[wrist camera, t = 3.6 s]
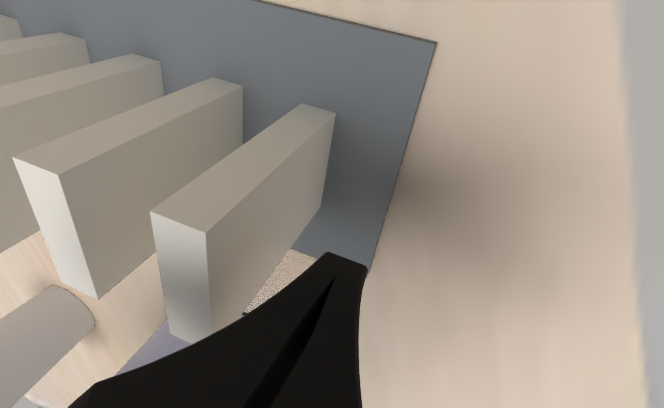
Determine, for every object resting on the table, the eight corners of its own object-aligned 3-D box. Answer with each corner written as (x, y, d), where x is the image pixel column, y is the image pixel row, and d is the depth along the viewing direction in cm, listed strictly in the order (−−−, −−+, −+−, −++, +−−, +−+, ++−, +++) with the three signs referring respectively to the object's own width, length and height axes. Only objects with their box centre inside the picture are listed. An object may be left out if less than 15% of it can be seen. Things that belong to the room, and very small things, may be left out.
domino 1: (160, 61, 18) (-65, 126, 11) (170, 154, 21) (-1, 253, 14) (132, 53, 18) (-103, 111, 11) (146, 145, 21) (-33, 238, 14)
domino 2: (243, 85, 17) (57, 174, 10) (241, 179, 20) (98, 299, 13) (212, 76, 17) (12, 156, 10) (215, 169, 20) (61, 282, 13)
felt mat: (368, 272, 21) (366, 277, 20) (-41, 117, 27) (-47, 119, 27) (436, 42, 14) (435, 44, 13) (-137, -94, 20) (-147, -95, 20)
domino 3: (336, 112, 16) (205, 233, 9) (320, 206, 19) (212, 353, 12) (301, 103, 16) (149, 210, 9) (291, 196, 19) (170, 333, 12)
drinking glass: (79, 288, 34) (-47, 385, 26) (109, 338, 38) (5, 437, 30) (32, 277, 37) (-96, 363, 29) (64, 324, 40) (-43, 413, 32)
